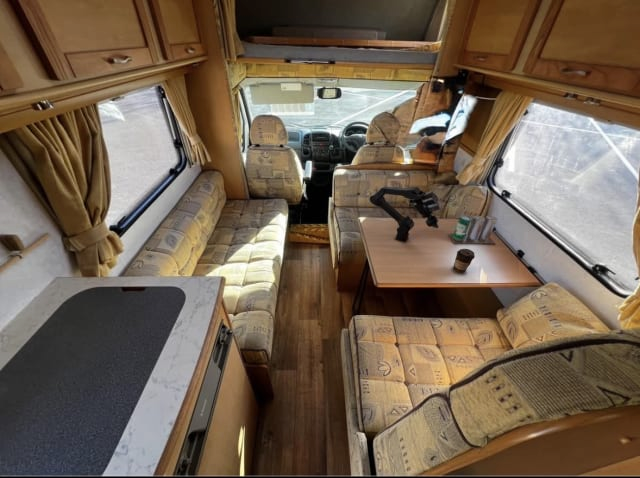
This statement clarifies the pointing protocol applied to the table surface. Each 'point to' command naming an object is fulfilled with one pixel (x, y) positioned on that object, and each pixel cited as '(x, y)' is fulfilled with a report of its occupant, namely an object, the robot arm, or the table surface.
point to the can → (462, 227)
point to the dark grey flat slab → (477, 241)
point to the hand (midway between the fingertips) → (435, 223)
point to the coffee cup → (463, 260)
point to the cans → (485, 228)
